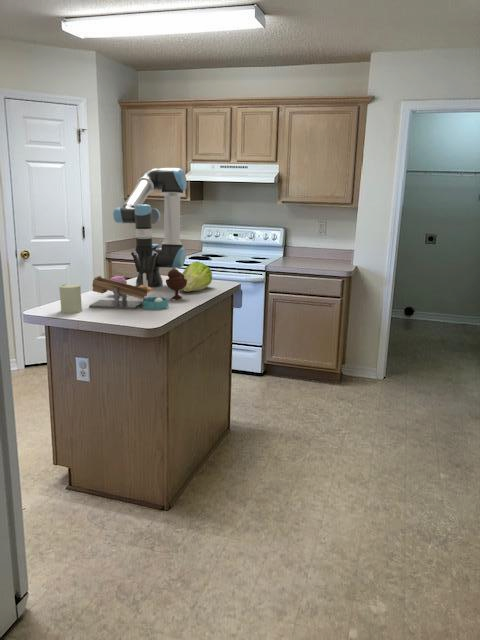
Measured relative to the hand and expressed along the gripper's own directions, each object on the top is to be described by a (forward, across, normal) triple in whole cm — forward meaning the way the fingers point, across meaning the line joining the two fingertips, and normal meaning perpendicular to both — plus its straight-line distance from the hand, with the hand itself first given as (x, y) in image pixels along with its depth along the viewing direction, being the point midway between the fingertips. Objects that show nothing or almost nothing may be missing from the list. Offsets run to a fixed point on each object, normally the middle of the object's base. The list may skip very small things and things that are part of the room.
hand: (145, 286), depth 248 cm
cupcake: (+8, -19, +14) cm, 25 cm away
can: (+8, -27, -24) cm, 37 cm away
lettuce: (+8, +17, +34) cm, 38 cm away
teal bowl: (+8, +8, -10) cm, 15 cm away
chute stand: (+8, -11, -10) cm, 17 cm away
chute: (+3, -10, -6) cm, 12 cm away
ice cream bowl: (+8, +13, +10) cm, 18 cm away
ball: (+5, +9, -10) cm, 15 cm away
